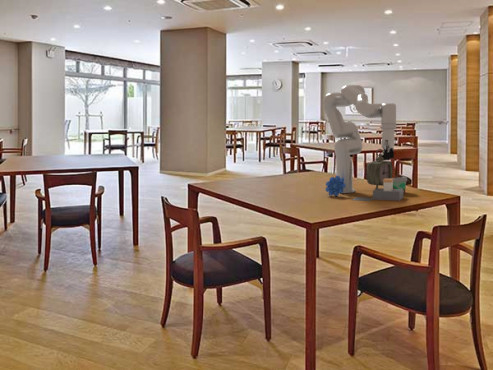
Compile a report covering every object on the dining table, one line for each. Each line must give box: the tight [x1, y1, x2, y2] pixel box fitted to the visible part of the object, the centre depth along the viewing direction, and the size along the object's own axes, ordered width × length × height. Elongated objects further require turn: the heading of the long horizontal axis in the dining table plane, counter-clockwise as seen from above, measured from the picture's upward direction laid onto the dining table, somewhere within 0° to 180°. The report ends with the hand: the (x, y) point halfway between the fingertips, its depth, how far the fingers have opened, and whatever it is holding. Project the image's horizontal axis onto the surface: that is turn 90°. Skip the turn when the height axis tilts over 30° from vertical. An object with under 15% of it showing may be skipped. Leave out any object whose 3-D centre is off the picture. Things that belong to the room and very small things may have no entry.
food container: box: [390, 175, 408, 195], centre depth 279 cm, size 12×6×10 cm, turn 130°
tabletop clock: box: [366, 148, 394, 190], centre depth 294 cm, size 14×9×25 cm, turn 129°
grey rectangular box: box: [372, 187, 404, 202], centre depth 265 cm, size 14×10×5 cm
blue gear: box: [325, 176, 346, 197], centre depth 280 cm, size 12×7×12 cm, turn 68°
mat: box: [351, 196, 374, 202], centre depth 266 cm, size 10×10×1 cm
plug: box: [383, 178, 393, 191], centre depth 264 cm, size 4×4×10 cm
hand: (388, 159), depth 262 cm, fingers open, 9 cm apart
